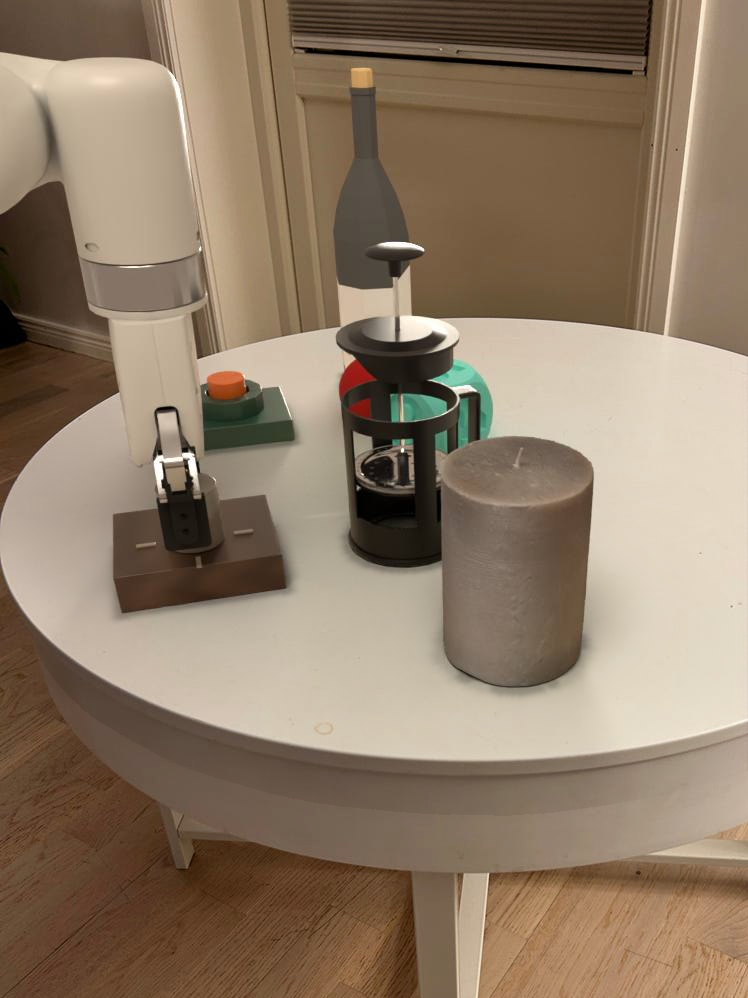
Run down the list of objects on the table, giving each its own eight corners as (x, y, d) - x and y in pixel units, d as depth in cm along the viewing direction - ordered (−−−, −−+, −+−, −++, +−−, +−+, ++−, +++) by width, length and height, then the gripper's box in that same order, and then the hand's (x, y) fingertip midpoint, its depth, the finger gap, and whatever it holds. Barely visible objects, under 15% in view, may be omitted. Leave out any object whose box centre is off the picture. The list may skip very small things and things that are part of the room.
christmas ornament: (344, 411, 103) (336, 314, 97) (412, 410, 103) (409, 314, 98) (339, 440, 97) (330, 339, 92) (411, 439, 98) (407, 338, 92)
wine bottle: (354, 361, 115) (333, 63, 98) (422, 366, 114) (413, 65, 96) (332, 386, 109) (306, 72, 91) (404, 392, 107) (391, 75, 90)
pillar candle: (566, 603, 74) (579, 413, 65) (594, 684, 66) (613, 479, 57) (436, 611, 73) (431, 419, 64) (448, 694, 65) (445, 488, 56)
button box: (179, 454, 95) (171, 414, 92) (174, 417, 102) (167, 380, 99) (294, 440, 97) (290, 401, 95) (282, 406, 104) (278, 369, 102)
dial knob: (227, 548, 74) (218, 490, 71) (167, 557, 73) (154, 499, 70) (222, 521, 78) (212, 465, 75) (164, 529, 77) (152, 472, 74)
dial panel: (121, 615, 72) (112, 578, 71) (120, 546, 80) (112, 511, 79) (287, 590, 75) (282, 554, 73) (269, 526, 83) (265, 492, 81)
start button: (210, 403, 95) (207, 386, 94) (207, 390, 98) (205, 372, 97) (248, 399, 96) (246, 382, 95) (244, 386, 99) (242, 369, 98)
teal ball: (493, 449, 96) (494, 368, 91) (442, 479, 91) (441, 395, 86) (428, 428, 100) (426, 350, 95) (376, 456, 94) (371, 374, 90)
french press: (365, 580, 76) (343, 272, 63) (325, 526, 83) (297, 238, 70) (501, 546, 81) (507, 252, 67) (452, 498, 88) (449, 221, 74)
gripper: (86, 249, 70) (130, 471, 80) (81, 326, 57) (134, 581, 67) (195, 243, 72) (225, 461, 82) (216, 317, 58) (248, 567, 68)
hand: (184, 515), depth 74 cm, fingers open, 9 cm apart
